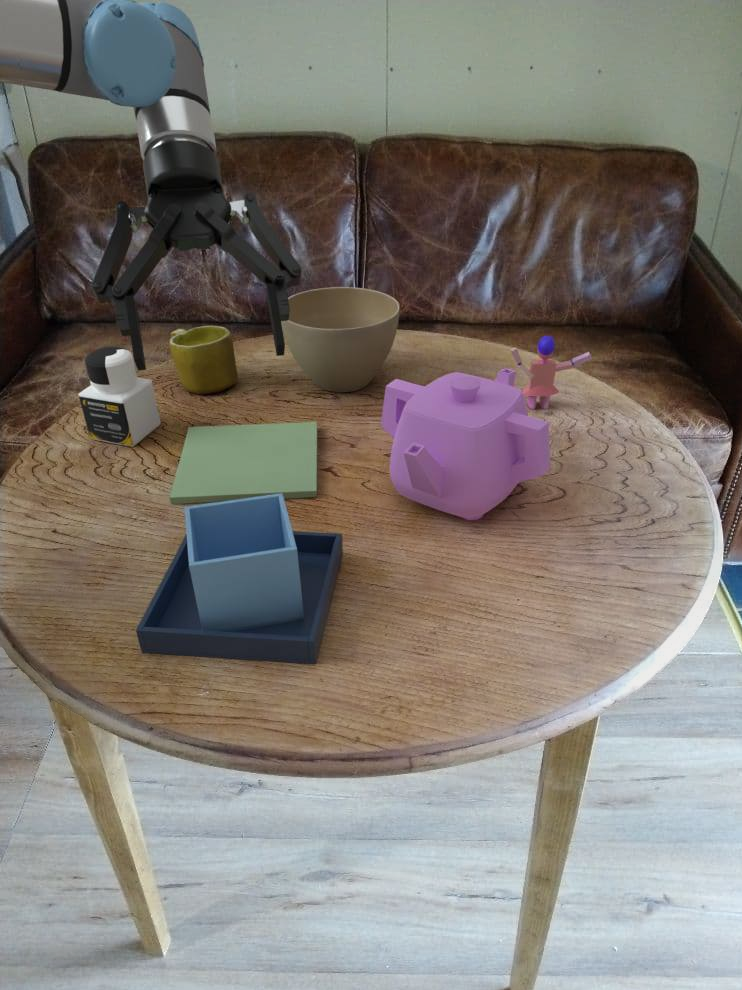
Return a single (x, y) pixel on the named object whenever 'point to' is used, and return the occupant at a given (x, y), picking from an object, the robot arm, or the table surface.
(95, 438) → the medicine bottle
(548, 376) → the figurine
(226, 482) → the mat
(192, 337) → the mug
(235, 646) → the lower bin
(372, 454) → the table surface
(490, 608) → the table surface
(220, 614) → the upper bin
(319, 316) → the beige bowl
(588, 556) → the table surface
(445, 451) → the teapot
